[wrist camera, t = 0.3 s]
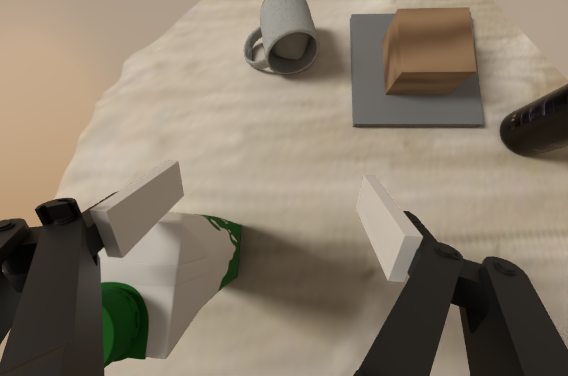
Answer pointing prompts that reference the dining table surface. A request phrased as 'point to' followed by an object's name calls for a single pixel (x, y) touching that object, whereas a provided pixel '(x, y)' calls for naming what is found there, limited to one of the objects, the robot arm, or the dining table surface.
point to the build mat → (402, 108)
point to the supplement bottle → (538, 125)
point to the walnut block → (428, 51)
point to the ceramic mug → (284, 37)
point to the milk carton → (164, 283)
